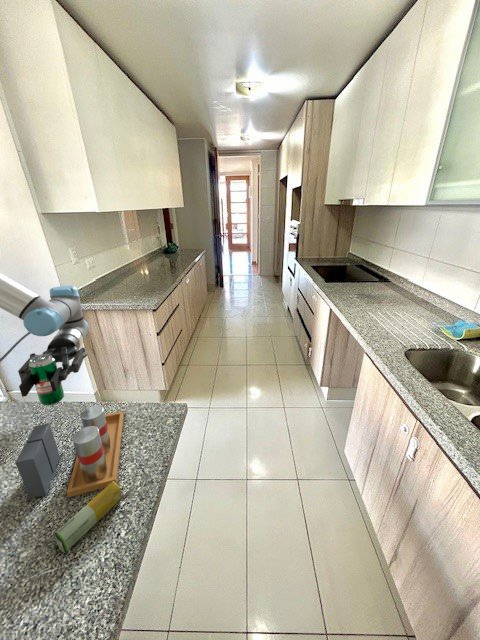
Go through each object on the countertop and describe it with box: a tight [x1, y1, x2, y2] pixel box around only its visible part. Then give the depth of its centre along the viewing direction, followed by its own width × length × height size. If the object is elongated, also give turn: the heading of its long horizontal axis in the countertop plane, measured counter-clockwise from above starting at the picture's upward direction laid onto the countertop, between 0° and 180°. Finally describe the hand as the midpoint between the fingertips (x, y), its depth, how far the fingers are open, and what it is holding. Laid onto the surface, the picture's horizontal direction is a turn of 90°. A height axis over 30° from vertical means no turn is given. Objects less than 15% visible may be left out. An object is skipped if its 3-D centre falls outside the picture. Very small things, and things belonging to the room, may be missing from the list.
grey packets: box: [15, 422, 60, 500], centre depth 59 cm, size 10×3×11 cm, turn 19°
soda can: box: [29, 353, 65, 406], centre depth 63 cm, size 5×5×12 cm
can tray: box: [66, 411, 125, 498], centre depth 68 cm, size 24×10×2 cm, turn 19°
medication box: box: [53, 481, 123, 554], centre depth 51 cm, size 12×3×4 cm, turn 149°
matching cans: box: [72, 405, 111, 483], centre depth 62 cm, size 13×5×12 cm, turn 19°
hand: (38, 388), depth 58 cm, fingers closed on soda can, 5 cm apart
